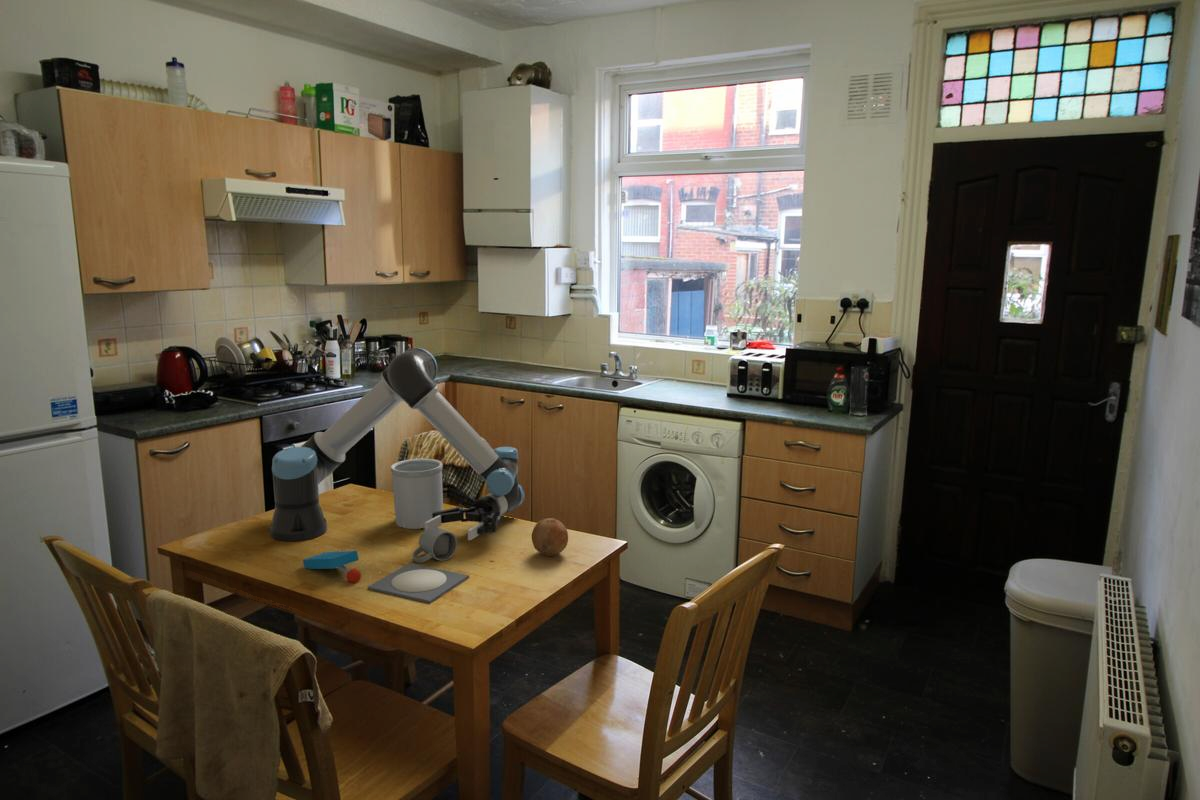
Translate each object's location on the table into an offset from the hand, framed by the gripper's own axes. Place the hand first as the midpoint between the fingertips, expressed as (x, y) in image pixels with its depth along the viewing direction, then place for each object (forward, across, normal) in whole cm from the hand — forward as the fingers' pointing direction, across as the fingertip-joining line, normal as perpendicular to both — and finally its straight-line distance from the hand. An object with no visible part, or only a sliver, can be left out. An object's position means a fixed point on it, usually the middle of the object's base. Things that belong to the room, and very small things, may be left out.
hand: (447, 531), depth 209 cm
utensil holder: (-17, +22, -6) cm, 28 cm away
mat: (+20, -5, -6) cm, 21 cm away
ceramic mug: (+5, +1, -6) cm, 8 cm away
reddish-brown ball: (-10, -26, -6) cm, 28 cm away
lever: (+23, +17, -6) cm, 30 cm away
